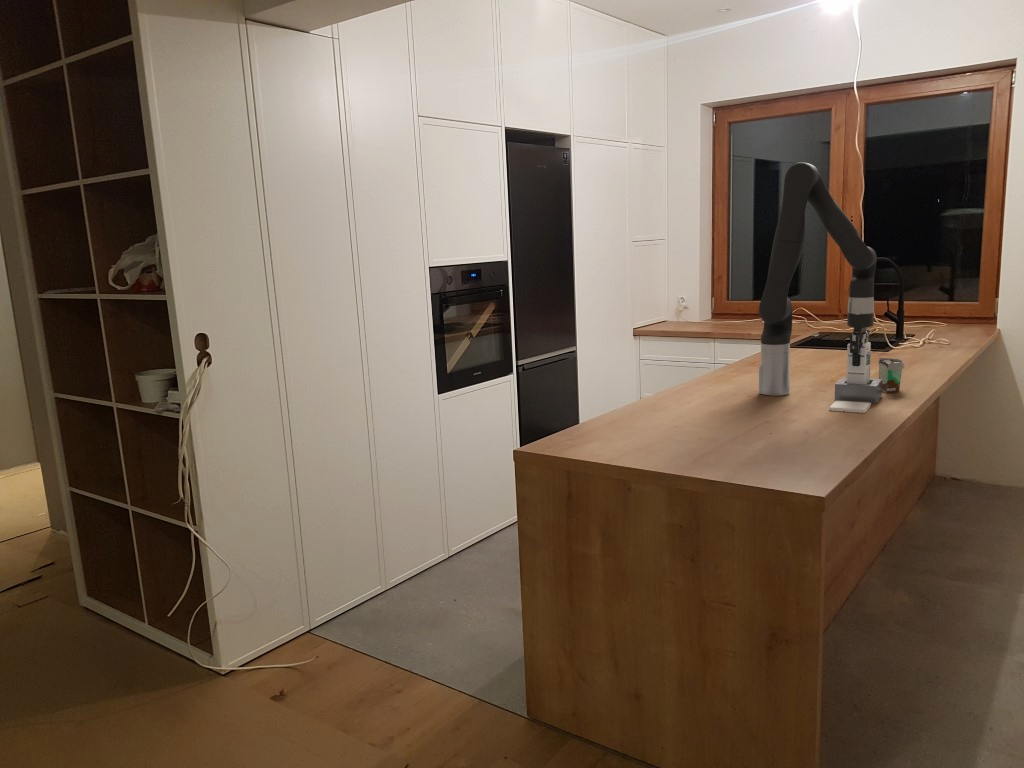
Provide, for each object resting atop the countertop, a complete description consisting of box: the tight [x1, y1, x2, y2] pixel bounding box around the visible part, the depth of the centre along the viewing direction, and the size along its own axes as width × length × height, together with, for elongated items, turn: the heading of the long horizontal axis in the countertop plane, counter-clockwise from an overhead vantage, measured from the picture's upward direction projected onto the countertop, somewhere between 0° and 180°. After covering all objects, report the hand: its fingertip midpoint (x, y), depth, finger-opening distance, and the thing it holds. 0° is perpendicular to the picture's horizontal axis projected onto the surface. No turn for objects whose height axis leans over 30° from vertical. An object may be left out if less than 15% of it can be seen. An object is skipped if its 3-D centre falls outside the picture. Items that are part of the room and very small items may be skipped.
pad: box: [829, 400, 872, 414], centre depth 232 cm, size 10×10×1 cm
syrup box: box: [846, 341, 872, 385], centre depth 242 cm, size 6×6×14 cm
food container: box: [878, 357, 905, 394], centre depth 252 cm, size 12×6×10 cm, turn 168°
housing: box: [834, 376, 883, 405], centre depth 243 cm, size 12×12×6 cm
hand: (858, 364), depth 242 cm, fingers closed on syrup box, 5 cm apart
